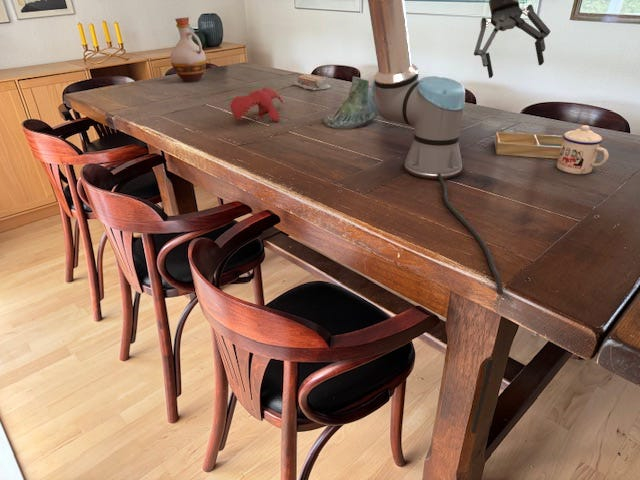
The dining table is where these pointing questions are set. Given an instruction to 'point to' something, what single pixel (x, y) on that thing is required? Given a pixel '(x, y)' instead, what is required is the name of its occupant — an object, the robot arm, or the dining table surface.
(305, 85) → the packaged product
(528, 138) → the organizer
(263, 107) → the red animal figurine
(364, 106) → the tree stump
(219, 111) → the dining table surface
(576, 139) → the teacup with lid
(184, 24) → the jug
